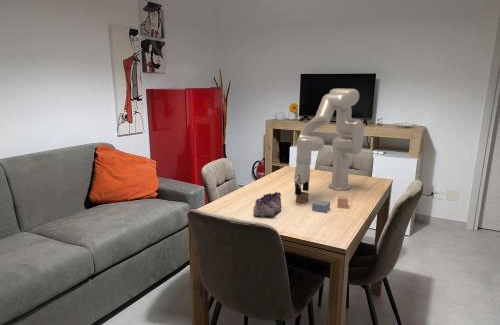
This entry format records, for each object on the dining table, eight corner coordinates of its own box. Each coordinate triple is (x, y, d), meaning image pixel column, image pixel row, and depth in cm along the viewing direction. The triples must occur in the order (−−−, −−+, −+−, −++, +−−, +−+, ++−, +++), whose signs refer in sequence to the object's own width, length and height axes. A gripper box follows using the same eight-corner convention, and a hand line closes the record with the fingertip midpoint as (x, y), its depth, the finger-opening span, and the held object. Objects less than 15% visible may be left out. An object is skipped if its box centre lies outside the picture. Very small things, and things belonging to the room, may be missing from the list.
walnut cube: (299, 200, 194) (300, 191, 193) (308, 201, 191) (308, 192, 190) (295, 202, 190) (296, 193, 189) (304, 204, 187) (304, 195, 186)
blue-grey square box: (316, 207, 184) (316, 199, 183) (329, 209, 180) (330, 201, 180) (312, 211, 178) (312, 203, 177) (325, 213, 174) (326, 205, 174)
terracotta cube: (337, 204, 187) (338, 195, 186) (347, 205, 186) (348, 196, 185) (337, 207, 183) (337, 198, 181) (347, 208, 181) (347, 199, 180)
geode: (264, 204, 187) (267, 186, 185) (285, 210, 183) (288, 192, 181) (248, 215, 169) (251, 195, 167) (270, 222, 165) (274, 202, 162)
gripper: (303, 158, 195) (301, 188, 198) (289, 162, 180) (288, 195, 184) (316, 159, 191) (314, 190, 194) (303, 164, 176) (301, 197, 180)
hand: (301, 192), depth 189 cm, fingers open, 9 cm apart
